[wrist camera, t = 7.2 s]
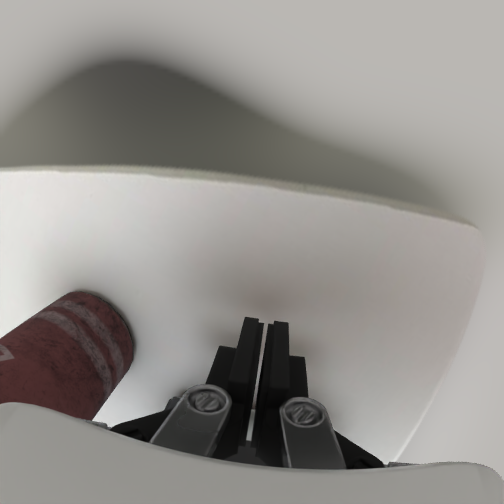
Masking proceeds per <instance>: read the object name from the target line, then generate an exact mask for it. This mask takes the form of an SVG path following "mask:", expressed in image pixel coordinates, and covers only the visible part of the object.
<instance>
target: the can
mask: <svg viewBox="0 0 504 504" xmlns="http://www.w3.org/2000/svg"><path fill="white" fill-rule="evenodd" d="M132 360H133V345H132V340H131V337H130V334H129V330H128V328H127V326H126V324H125V323H124V321H123V319H122V318H121V316H120V315H119V314H118V313H117V312H116V311H115V309H114V308H113V307H112V306H111V305H110V304H108V303H107V302H105V301H104V300H102V299H101V298H99V297H96V296H93V295H90V294H87V293H84V292H70V293H68V294H66V295H64V296H63V297H61V298H59V299H58V300H56V301H55V302H53V303H52V304H50V305H49V306H47V307H46V308H44V309H43V310H41V311H40V312H38V313H37V314H35V315H34V316H32V317H31V318H29V319H28V320H26V321H25V322H23V323H22V324H20V325H19V326H18V327H16V328H15V329H13V330H12V331H10V332H9V333H8V334H6V335H5V336H3V337H2V338H1V339H0V404H3V403H8V402H16V403H26V404H32V405H37V406H41V407H45V408H49V409H52V410H55V411H58V412H61V413H64V414H66V415H69V416H72V417H76V418H80V419H85V420H90V421H92V420H93V418H94V417H95V415H96V414H97V413H98V411H99V410H100V408H101V407H102V406H103V404H104V403H105V401H106V400H107V399H108V397H109V396H110V395H111V393H112V392H113V390H114V389H115V388H116V386H117V385H118V383H119V382H120V381H121V379H122V378H123V377H124V375H125V374H126V373H127V371H128V370H129V368H130V365H131V363H132Z"/></svg>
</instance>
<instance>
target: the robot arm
mask: <svg viewBox="0 0 504 504" xmlns="http://www.w3.org/2000/svg"><path fill="white" fill-rule="evenodd" d="M263 326H264V323H259V319H257V318H250V317H245V319H244V322H243V326H242V330H241V334H240V338H239V341H238V345H237V348H232V347H225V346H219V348H218V351H217V354H216V356H215V359H214V362H213V365H212V367H211V370H210V373H209V376H208V378H207V381H206V384H201V385H196V386H193V387H191V388H189V389H188V390H187V391H186V392H185V393H184V394H183V396H182V397H181V399H180V400H179V401H178V403H177V404H176V406H175V407H174V408H171V409H168V410H165V411H162V412H158V413H155V414H152V415H148V416H145V417H142V418H138V419H135V420H131V421H127V422H124V423H120V424H118V425H115V426H114V427H112V428H111V427H107V423H101V422H95V421H90V420H85V419H80V418H76V417H72V416H69V415H66V414H64V413H61V412H58V411H55V410H52V409H49V408H45V407H41V406H37V405H32V404H26V403H16V402H8V403H3V404H0V504H504V481H503V479H502V478H501V477H500V475H499V474H498V473H497V472H496V471H495V470H493V469H491V468H490V467H487V466H484V465H481V464H477V463H468V462H439V463H429V464H409V463H397V462H389V464H388V465H384V464H383V463H382V461H380V460H379V459H378V458H377V457H375V456H373V455H372V454H370V453H368V452H367V451H365V450H364V449H362V448H361V447H359V446H357V445H356V444H354V443H353V442H351V441H350V440H348V439H347V438H345V437H344V436H342V435H341V434H339V433H338V432H336V431H335V430H333V427H332V424H331V421H330V419H329V416H328V413H327V411H326V409H325V407H324V406H323V405H322V404H321V403H319V402H317V401H315V400H314V399H310V398H309V397H308V386H307V374H306V364H305V357H300V356H290V355H289V326H288V323H287V322H279V321H274V324H268V329H267V335H266V342H265V348H264V354H263V360H262V366H261V372H260V378H259V385H258V393H257V400H256V408H255V415H254V423H253V430H252V437H251V445H250V448H256V453H255V457H258V458H259V459H261V460H262V461H263V462H264V463H265V466H260V465H251V464H244V463H237V462H230V461H226V458H228V457H231V456H233V455H235V454H237V453H238V448H239V446H242V447H245V444H246V439H247V433H248V427H249V421H250V415H251V409H252V403H253V397H254V391H255V385H256V378H257V371H258V364H259V356H260V349H261V341H262V334H263Z"/></svg>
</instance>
